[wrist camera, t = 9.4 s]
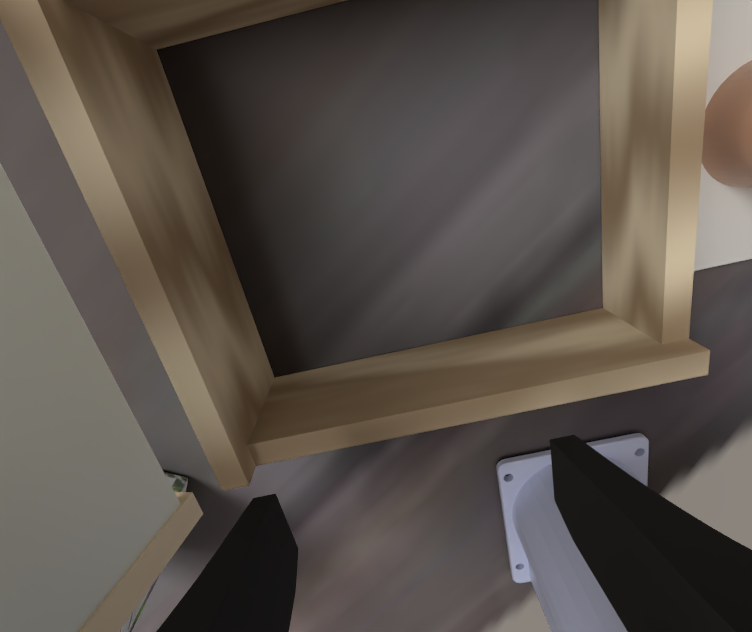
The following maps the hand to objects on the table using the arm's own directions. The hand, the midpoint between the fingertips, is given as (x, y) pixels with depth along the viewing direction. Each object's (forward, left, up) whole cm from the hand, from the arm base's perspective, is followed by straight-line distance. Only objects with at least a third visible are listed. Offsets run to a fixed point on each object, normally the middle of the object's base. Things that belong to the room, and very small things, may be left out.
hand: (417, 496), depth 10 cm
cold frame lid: (+6, +10, +7) cm, 14 cm away
